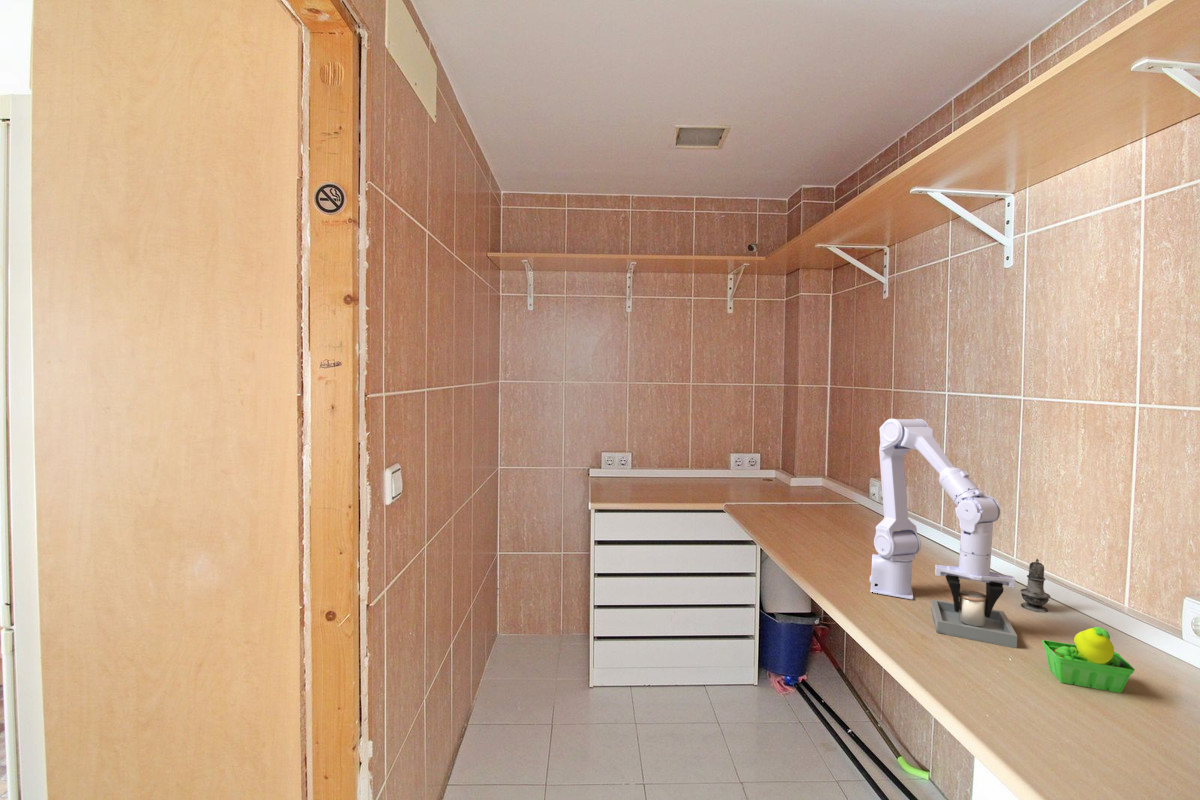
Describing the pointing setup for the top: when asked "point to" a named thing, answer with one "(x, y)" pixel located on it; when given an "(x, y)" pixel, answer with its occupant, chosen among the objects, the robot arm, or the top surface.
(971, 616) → the cup
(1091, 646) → the fruit basket
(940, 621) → the tray
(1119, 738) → the top surface
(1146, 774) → the top surface
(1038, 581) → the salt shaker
